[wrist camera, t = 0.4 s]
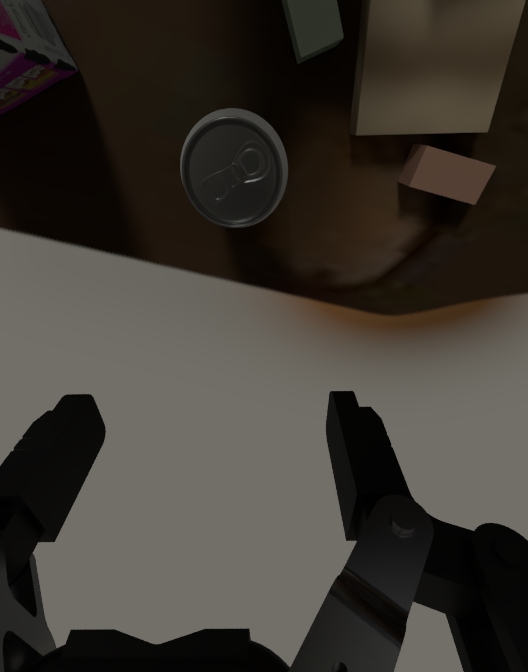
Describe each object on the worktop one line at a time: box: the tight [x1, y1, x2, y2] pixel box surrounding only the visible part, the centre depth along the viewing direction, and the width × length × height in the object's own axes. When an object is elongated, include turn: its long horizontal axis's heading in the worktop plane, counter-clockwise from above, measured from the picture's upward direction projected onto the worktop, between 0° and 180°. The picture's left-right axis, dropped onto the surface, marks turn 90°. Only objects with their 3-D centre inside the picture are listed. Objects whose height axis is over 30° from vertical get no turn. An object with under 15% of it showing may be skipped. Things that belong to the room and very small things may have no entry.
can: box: [180, 108, 288, 228], centre depth 24 cm, size 6×6×12 cm
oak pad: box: [349, 0, 525, 135], centre depth 24 cm, size 10×10×2 cm
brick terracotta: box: [398, 144, 496, 205], centre depth 28 cm, size 6×3×3 cm, turn 76°
